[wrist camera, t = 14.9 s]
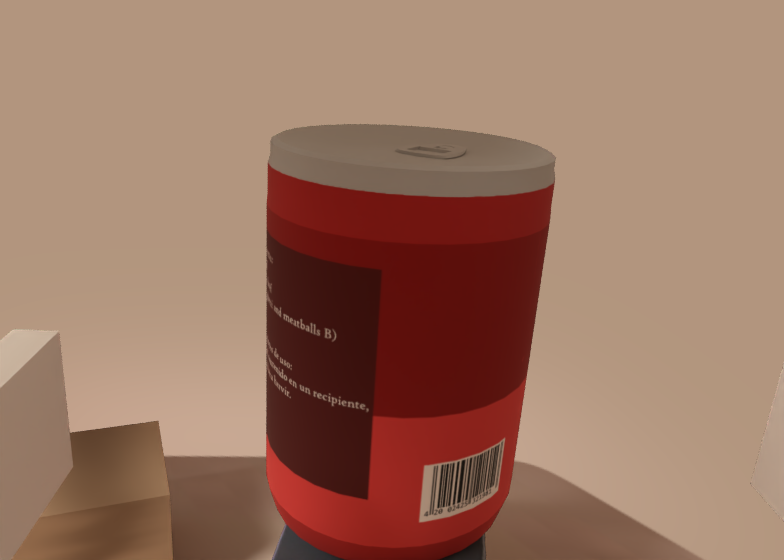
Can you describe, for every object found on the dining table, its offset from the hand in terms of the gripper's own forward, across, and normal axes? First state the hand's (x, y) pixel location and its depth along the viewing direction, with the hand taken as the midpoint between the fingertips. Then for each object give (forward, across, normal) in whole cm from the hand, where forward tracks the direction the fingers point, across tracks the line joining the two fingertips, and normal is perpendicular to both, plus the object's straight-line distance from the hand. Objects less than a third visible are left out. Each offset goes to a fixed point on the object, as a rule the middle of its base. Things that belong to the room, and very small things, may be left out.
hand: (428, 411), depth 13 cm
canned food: (+8, 0, -7) cm, 11 cm away
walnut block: (+15, -12, -18) cm, 26 cm away
